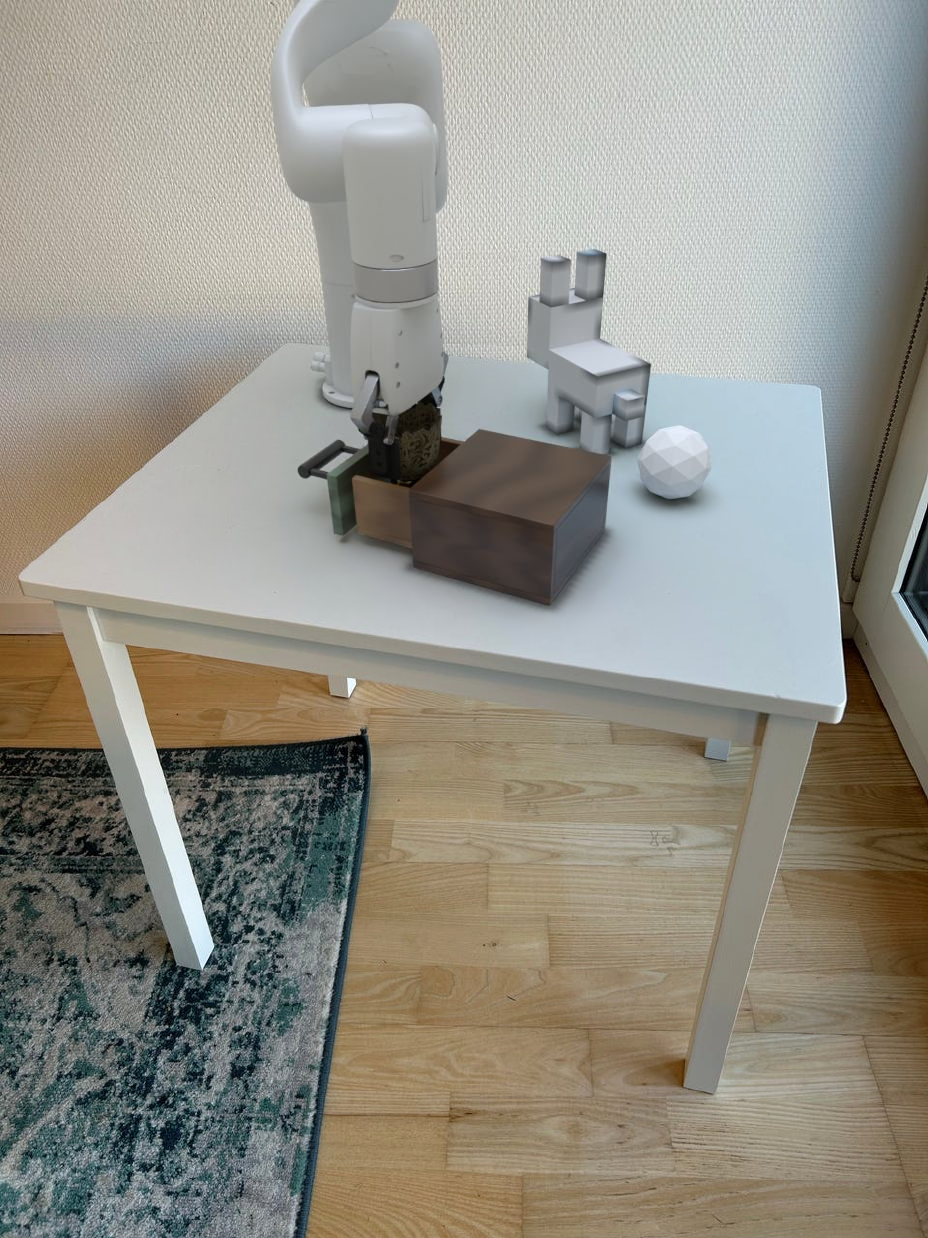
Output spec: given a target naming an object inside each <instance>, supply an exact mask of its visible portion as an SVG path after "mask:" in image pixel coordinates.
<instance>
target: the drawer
mask: <svg viewBox="0 0 928 1238" xmlns="http://www.w3.org/2000/svg"><path fill="white" fill-rule="evenodd" d="M441 440H442V441H441V443H440V446H439V453H438V458H437V462H436V464H435V466H437V465H438V464H439V463H440V462H441V461H442V460H444V459H445V458H446V457H447V456H448V455H449V454H451V453H452V452H453V451H454V450H455V449H456V448H457V447H459V446H460V445H461V444H462V443H463V442H464V441H465V440H464V441H463V440H459V439H454V438H450V437H444V436H441ZM343 453H345V454H348V455H349V454H350V455H351V456H349V457H348V458H347V459H345V460H344V461H343V462H341V463H340V464H339V465H337V466H336V467H335V468H333V469H332V470H330V471H325V470H321V469H322V468H324V467H325V466H327V465H328V464H330V463H331V462H332V461H333V460H335V459H336V458H338V457H339V456H340V455H342V454H343ZM435 466H434V467H435ZM297 474H298V475H299V477H300V478H301V479H306V480H307V479H309V478H310V477H314V478H315V477H316V478H319V479H323V480H327V490H328V497H329V506H330V513H331V521H332V529H333V533H334V534H335V535H338V536H341V537H344V536H345V535H347V534H348V533H349V532H350V531H351V530H353V529H354V528H355V527H356V528H357V534H359V535H363V536H366V537H369V538H373V539H376V540H377V539H378V540H381V541H384V542H388V543H392V544H395V545H398V546H403V547H407V548H410V549H412V540H411V525H410V509H409V493H408V490H409V489H410V488H407V487H403V486H399V485H395V484H391V482H390V479H388V478H384V477H380V476H376V475H373V474H372V473H371V471H370V460H369V449H368V443H367V444H365V445H363V447H362V448H358V447H353V446H349V445H346V443H345V442H344V441H343V440H342V439H336V440H335V441H332V442H331V443H330V444H328V445H327V446H326V447H324V448H323V449H321V450H320V451H318V452H317V453H316V454H314V455H312V456H311V457H310V458H309V459H307V460H306V461H304V462H303V463H301V464H300V465H299V466H298V467H297Z"/></svg>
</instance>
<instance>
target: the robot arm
mask: <svg viewBox="0 0 928 1238" xmlns="http://www.w3.org/2000/svg"><path fill="white" fill-rule="evenodd" d="M292 2H293V9H292V11H291V12H290V15H289V16H288V18H287V19H286V21H285V23H284V25H283V27H282V29H281V32H280V34H279V36H278V39H277V41H276V43H275V48H274V51H273V54H272V60H271V67H270V76H269V77H270V79H269V81H270V84H269V85H270V100H271V107H272V114H273V121H274V128H275V137H276V143H277V150H278V156H279V162H280V166H281V172H282V175H283V179H284V181H285V183H286V185H287V186H288V188H289V190H290V192H291V193H292V194H293V195H294V196H295V198H296V197H297V199H299V200H302V201H303V202H307V205H308V208H309V212H310V216H311V221H312V225H313V226H312V227H313V231H314V235H315V242H316V249H317V254H318V262H319V271H320V280H321V288H322V296H323V297H322V298H323V305H324V314H325V322H326V323H325V324H326V330H327V331H326V332H327V340H328V349H329V350H328V351H329V353H328V352H322V351H319V350H318V351H317V350H316V351H315V352H314V354H313V357H312V361H311V363H310V370H312V371H314V372H317V373H324V374H325V381H324V382H323V384H322V387H321V388H322V395H323V397H324V399H326V401H328V402H329V403H331V404H333V405H336V406H339V407H343V408H348V409H351V411H350V417H349V418H350V420H351V421H352V424H354V425H355V427H356V428H357V429H358V432H359V433H360V434H361V435H362V436H363V439H364V440H366V441H367V444H368V449H369V460H370V471H371V473H372V474H373V475H376V476H380V477H384V478H388V479H392V480H398V479H399V478H400V477H401V467H400V452H399V441H395V440H394V438H395V433H396V428H397V423H398V418H399V414H401V413H403V412H404V411H406V410H407V409H408V408H410V407H411V408H415V409H416V404H417V403H418V402H419V401H420V402H422V403H423V404H424V406H426V405H428V404H429V403H432V404H433V406H434V407H435V409H436V412H438V410H439V409H440V414H441V408H440V407H441V406H442V404H443V402H444V398H443V395H442V390H443V388H444V384H445V382H446V381H445V380H446V379H445V374H446V370H447V366H448V363H449V355H448V353H447V352H445V351H444V338H443V336H444V335H443V326H442V316H441V315H442V314H441V308H440V302H439V295H440V294H439V292H440V291H439V262H438V261H439V260H438V233H437V232H438V231H437V228H438V227H437V214H438V213H439V212H440V211H442V210H443V208H444V207H445V204H446V201H447V199H448V192H449V191H448V190H449V171H448V170H449V169H448V149H447V131H446V114H445V95H444V81H443V79H444V78H443V69H442V67H443V66H442V60H441V59H442V58H441V53H440V48H439V45H438V42H437V39H436V36H435V34H434V33H433V31H432V30H431V28H430V27H429V26H428V25H427V24H426V23H424V22H422V21H420V20H416V19H411V18H391V17H392V16H393V15H394V14H395V12H396V10H397V9H398V5H399V2H400V0H292ZM303 87H304V91H305V96H306V98H307V102H308V104H309V106H305V105H304V101H303ZM387 404H388V408H389V409H386V408H385V406H386V405H387ZM379 406H380V407H379ZM379 414H381V415H386V416H388V417H387V422H386V427H385V428H383V427H382V426H381V425H380V424H379V423H377V420H378V415H379ZM441 415H442V414H441ZM441 437H442V434H441V435H440V443H441V441H442V440H441Z"/></svg>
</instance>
